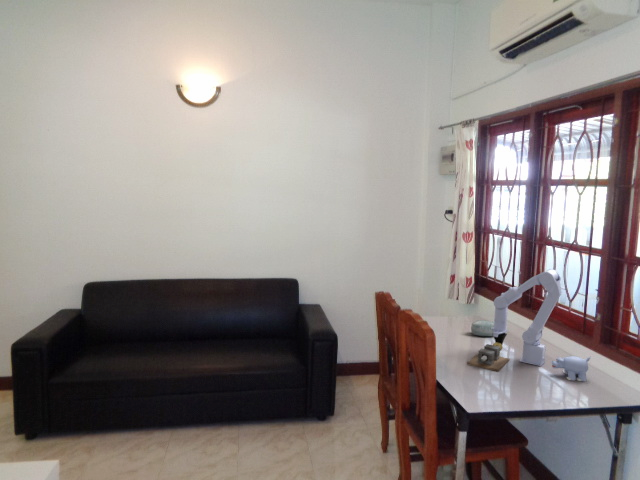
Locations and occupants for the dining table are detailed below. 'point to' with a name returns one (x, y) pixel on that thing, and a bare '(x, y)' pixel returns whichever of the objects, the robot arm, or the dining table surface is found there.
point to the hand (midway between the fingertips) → (498, 347)
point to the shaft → (492, 350)
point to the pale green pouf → (482, 328)
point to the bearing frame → (489, 358)
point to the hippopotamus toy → (573, 367)
